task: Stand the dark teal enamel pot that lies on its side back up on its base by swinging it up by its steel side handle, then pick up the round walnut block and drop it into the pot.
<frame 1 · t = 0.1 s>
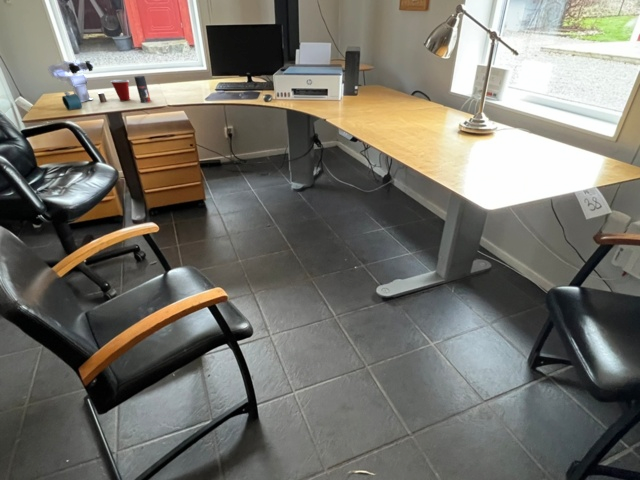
hand: (85, 67, 229), 22 cm above the table, tool horizontal, fingers open, 7 cm apart
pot: (71, 100, 230), point 5 cm above the table, hinge at -90.0°
deodorant: (145, 101, 245), on the table
plastic cup: (125, 99, 251), on the table
block: (103, 101, 247), on the table
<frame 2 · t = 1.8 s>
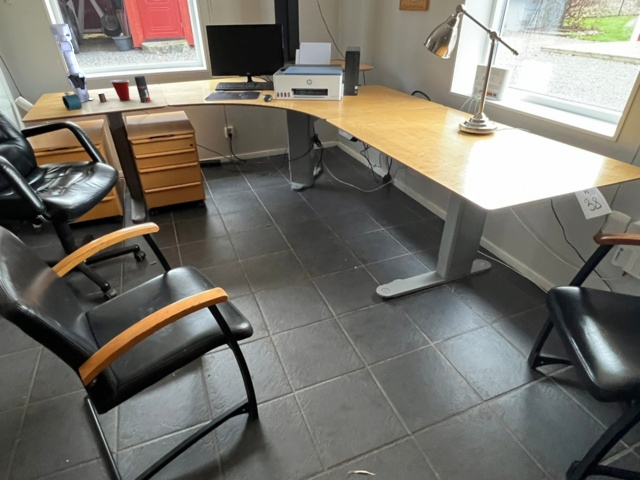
hand: (80, 88, 232), 10 cm above the table, tool pointing down, fingers open, 7 cm apart
nothing on the table moved.
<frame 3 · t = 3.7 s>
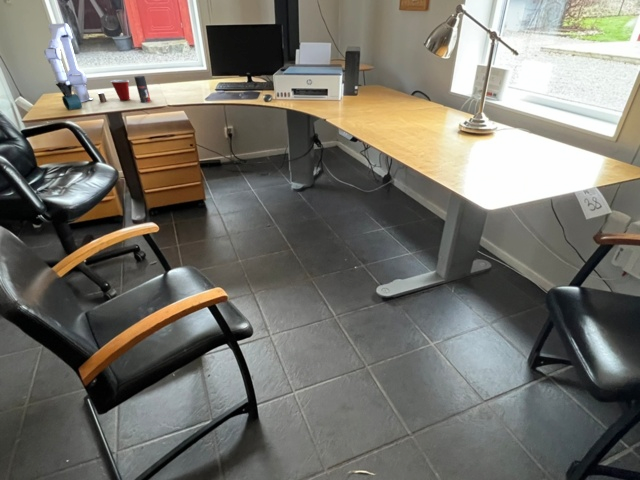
hand: (68, 96, 228), 8 cm above the table, tool pointing down, fingers closed on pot, 5 cm apart
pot: (71, 100, 230), point 5 cm above the table, hinge at -90.0°, touching gripper
everything else where it was.
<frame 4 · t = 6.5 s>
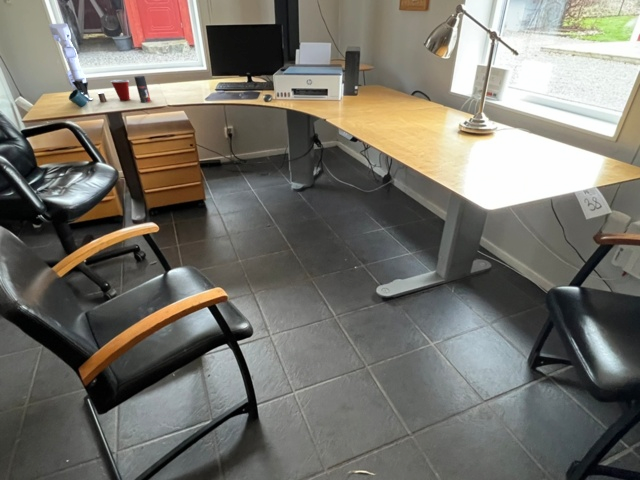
hand: (83, 94, 234), 7 cm above the table, tool pointing down, fingers closed on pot, 5 cm apart
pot: (79, 97, 233), point 6 cm above the table, hinge at -39.4°, touching gripper
everything else where it was.
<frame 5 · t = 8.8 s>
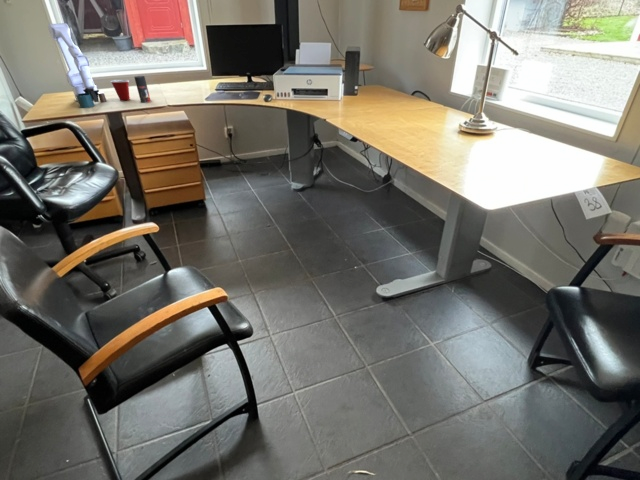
hand: (94, 101, 240), 2 cm above the table, tool pointing down, fingers closed on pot, 5 cm apart
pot: (86, 100, 236), point 3 cm above the table, hinge at 0.1°, touching gripper
everything else where it was.
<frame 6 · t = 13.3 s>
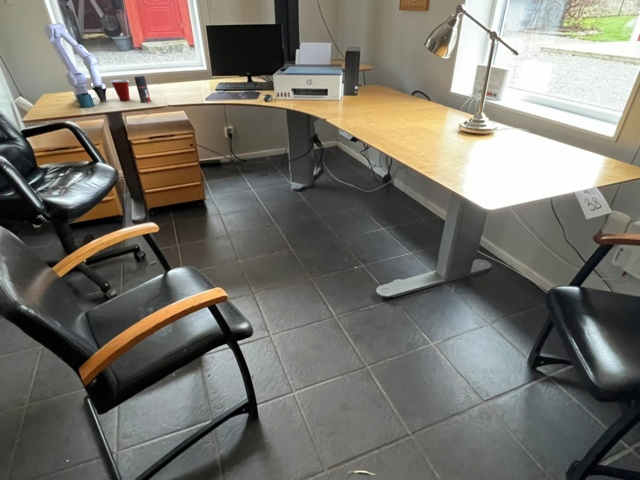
hand: (102, 99, 247), 1 cm above the table, tool pointing down, fingers closed on block, 3 cm apart
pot: (86, 100, 236), point 3 cm above the table, hinge at 0.0°
block: (103, 101, 247), on the table, touching gripper
everything else where it was.
when the fingers open (7 cm above the table, at t = 17.8 s): block stays where it is, resting on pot.
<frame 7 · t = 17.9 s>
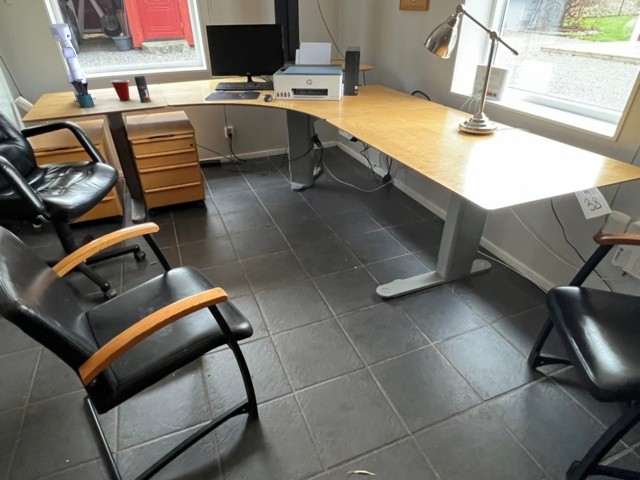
hand: (83, 94, 234), 7 cm above the table, tool pointing down, fingers open, 7 cm apart
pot: (86, 100, 236), point 3 cm above the table, hinge at 0.1°, touching block
block: (86, 105, 237), point 1 cm above the table, touching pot
everything else where it was.
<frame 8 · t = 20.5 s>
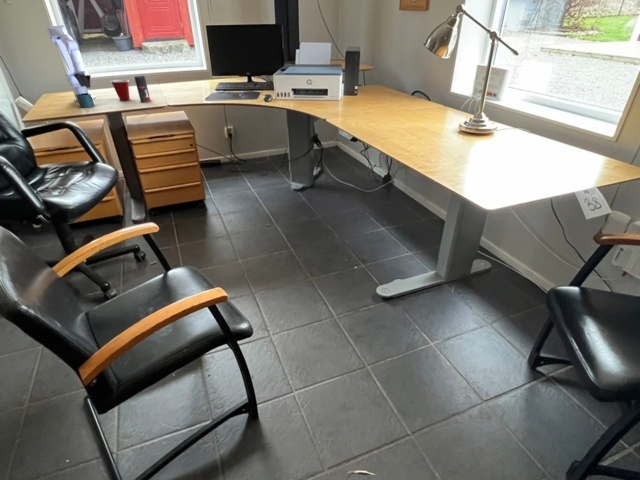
hand: (85, 86, 236), 10 cm above the table, tool pointing down, fingers open, 7 cm apart
nothing on the table moved.
at the end: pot at +0° (first picture: -90°); block 0.0 cm off-centre on the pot, point 0.6 cm above the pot's base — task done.
